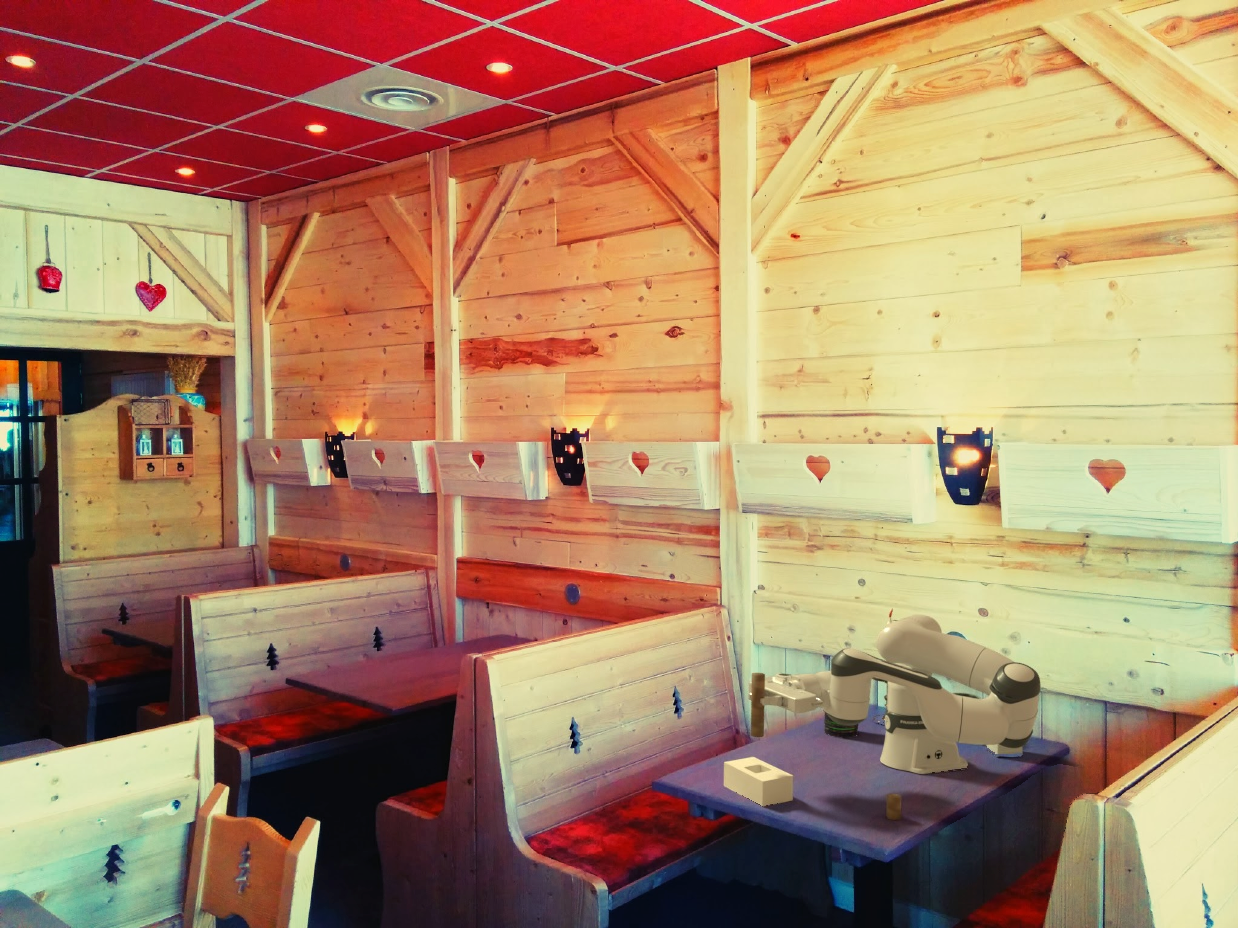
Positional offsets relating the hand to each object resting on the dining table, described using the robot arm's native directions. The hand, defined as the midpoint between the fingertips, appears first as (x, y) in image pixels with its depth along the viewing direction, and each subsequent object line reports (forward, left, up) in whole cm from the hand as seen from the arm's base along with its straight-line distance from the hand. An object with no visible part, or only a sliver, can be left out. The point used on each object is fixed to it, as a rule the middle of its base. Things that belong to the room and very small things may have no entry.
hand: (755, 699), depth 252 cm
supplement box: (-77, -24, -23) cm, 84 cm away
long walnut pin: (-1, 0, -9) cm, 9 cm away
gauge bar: (-1, -1, -23) cm, 23 cm away
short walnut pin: (-28, +18, -23) cm, 41 cm away
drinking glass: (-72, -39, -23) cm, 85 cm away
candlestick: (-57, -57, -23) cm, 84 cm away
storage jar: (-39, -47, -23) cm, 65 cm away
